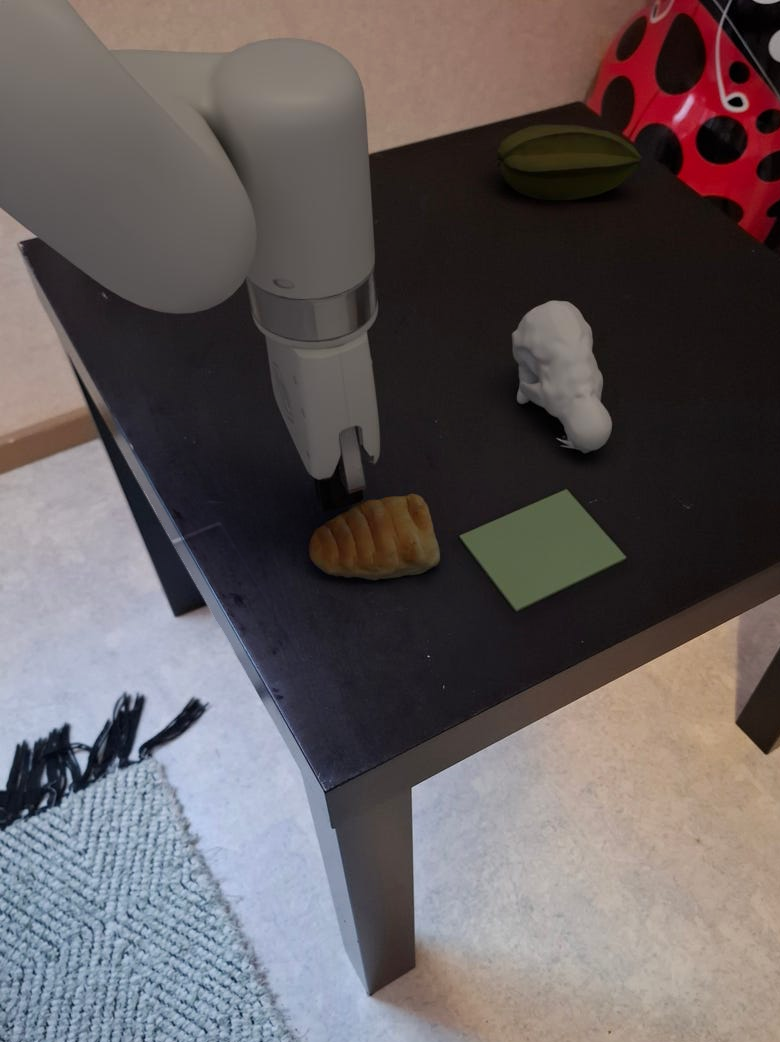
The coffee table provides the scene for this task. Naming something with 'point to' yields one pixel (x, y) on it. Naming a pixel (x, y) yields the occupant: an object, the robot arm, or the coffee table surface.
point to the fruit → (565, 161)
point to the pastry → (377, 540)
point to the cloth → (541, 549)
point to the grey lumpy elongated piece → (562, 372)
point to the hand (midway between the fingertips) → (340, 499)
